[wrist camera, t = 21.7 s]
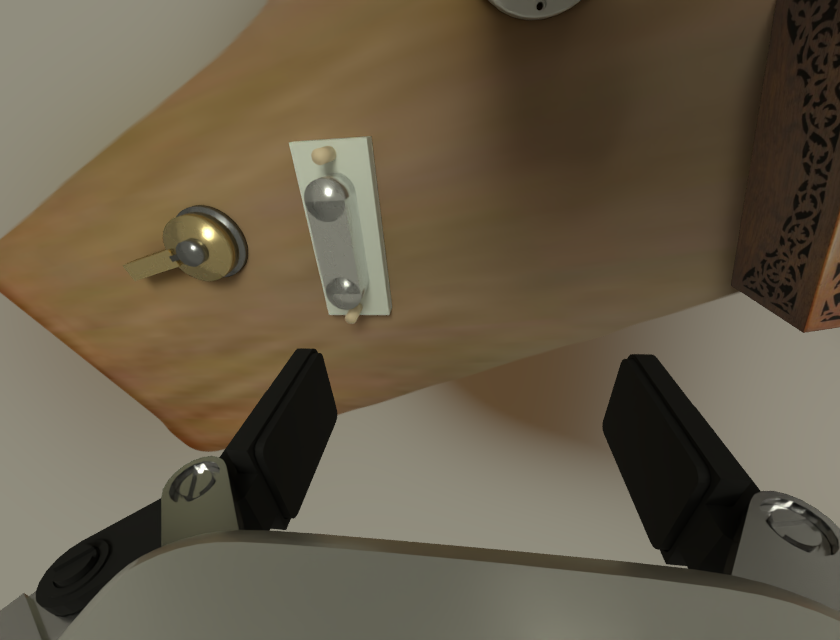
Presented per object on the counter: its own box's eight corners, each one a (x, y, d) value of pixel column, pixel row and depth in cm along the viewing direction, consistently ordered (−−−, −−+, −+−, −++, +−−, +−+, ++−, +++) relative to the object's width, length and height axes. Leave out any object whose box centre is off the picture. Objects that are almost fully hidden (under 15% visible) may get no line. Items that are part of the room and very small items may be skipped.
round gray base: (165, 206, 41) (160, 208, 41) (233, 203, 40) (229, 205, 39) (195, 275, 46) (191, 277, 45) (257, 274, 45) (254, 276, 44)
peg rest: (297, 141, 36) (274, 145, 32) (371, 136, 35) (358, 139, 30) (334, 307, 46) (320, 327, 42) (392, 307, 45) (384, 327, 41)
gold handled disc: (213, 203, 39) (193, 210, 36) (251, 265, 43) (236, 276, 40) (120, 238, 43) (95, 247, 40) (162, 293, 47) (142, 305, 44)
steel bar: (340, 293, 43) (329, 309, 39) (315, 173, 35) (299, 180, 32) (371, 293, 42) (363, 309, 39) (352, 171, 35) (340, 177, 31)
